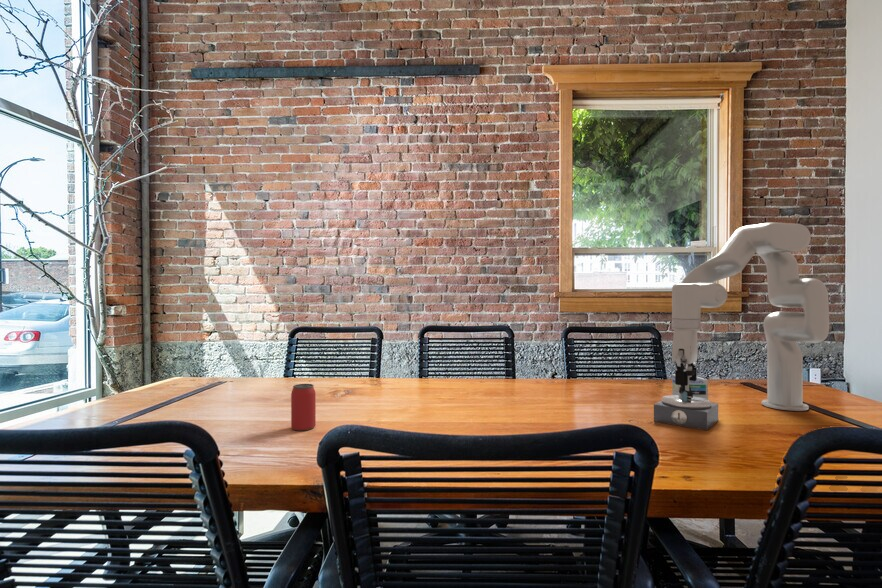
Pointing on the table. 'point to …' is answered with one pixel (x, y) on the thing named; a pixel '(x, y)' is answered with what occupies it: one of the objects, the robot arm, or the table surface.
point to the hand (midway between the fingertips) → (686, 382)
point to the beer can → (303, 407)
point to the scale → (686, 416)
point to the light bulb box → (693, 387)
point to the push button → (687, 387)
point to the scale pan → (686, 402)
